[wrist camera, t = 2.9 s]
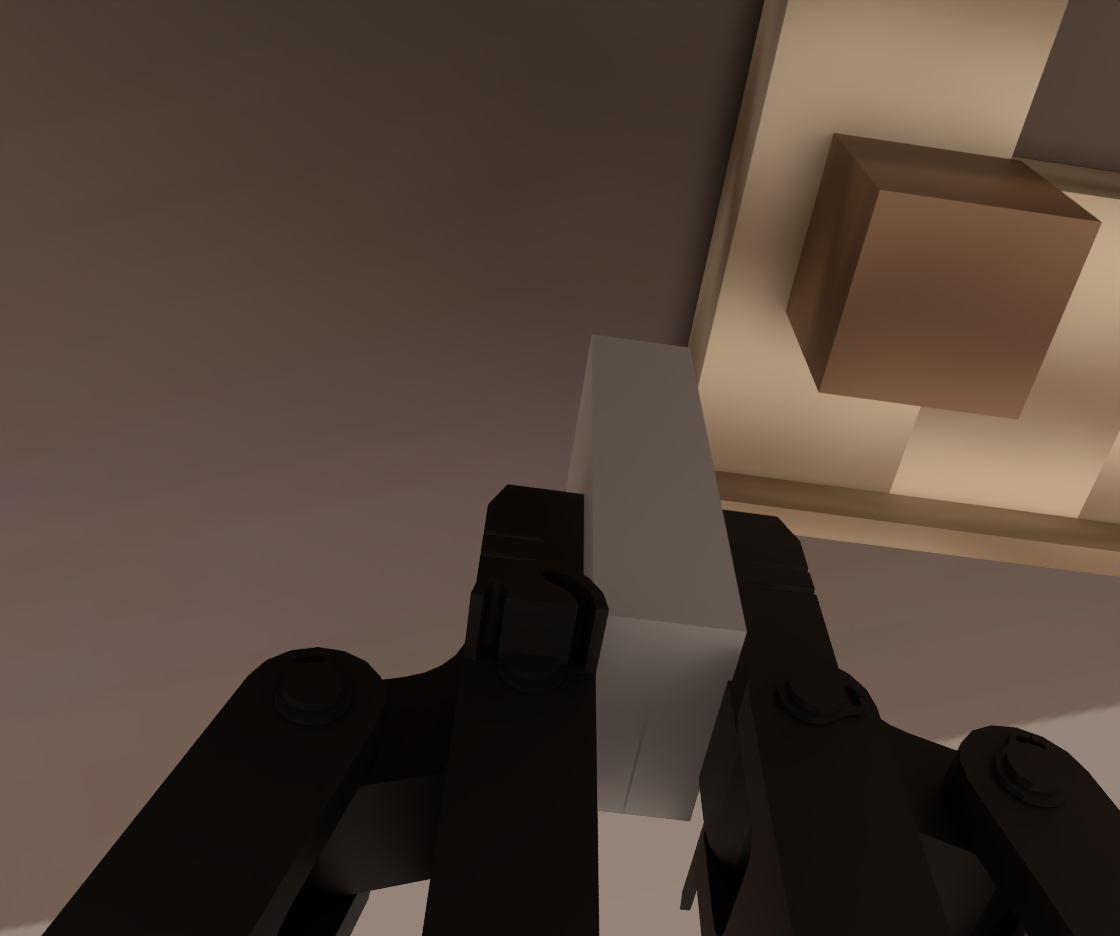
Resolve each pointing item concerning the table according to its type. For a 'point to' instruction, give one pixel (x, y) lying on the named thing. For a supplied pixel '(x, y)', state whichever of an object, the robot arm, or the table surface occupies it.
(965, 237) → the walnut block
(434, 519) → the table surface
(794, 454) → the trap box
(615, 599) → the robot arm
